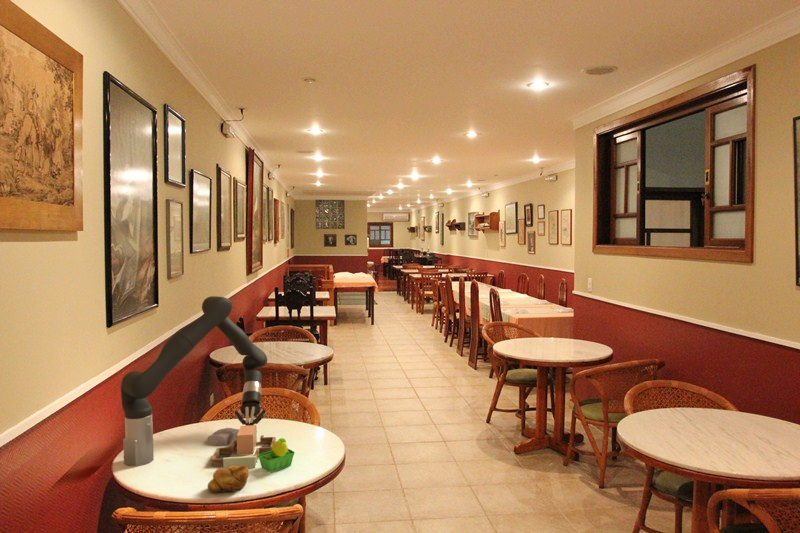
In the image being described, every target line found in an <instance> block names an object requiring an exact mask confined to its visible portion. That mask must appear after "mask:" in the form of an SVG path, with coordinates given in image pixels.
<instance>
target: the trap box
mask: <svg viewBox="0 0 800 533" xmlns="http://www.w3.org/2000/svg"><path fill="white" fill-rule="evenodd" d="M259 439H260V440H259V442H260V445H261V446H260V447H256V448H255V451H254V454H253V456H255V466H257V464H258V461H257V460H259V458H258V455H259V454H262V453H265V452H268V451H272V445H273V444H274V443H275V442H277V441H276V439H277V438H276V436H274V437H273V436H266V437H265V436H264V435H263V434H261V435H260V438H259ZM231 443H232V444H231V446H228V447H227V446H225V447H217V448H216V450H215V452H214V453H213V455H212V457H211V459H210V465H211V467H214V468H215V467H223V458H228V457H230V456H231V455H233V454H235V451H236V450H237V437H235V439H234V440H233V441H232V442H231ZM256 463H257V464H256Z"/></svg>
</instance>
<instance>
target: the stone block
mask: <svg viewBox="0 0 800 533" xmlns="http://www.w3.org/2000/svg"><path fill="white" fill-rule="evenodd" d="M239 429H240V428H232V427H225V428H220V429H218V430H217V431H214V432H213V433H212V434H211V435H209V436H207V438H206V439H207V440H206V441H207V444H208V445H213V446H228V445H229V444H231V443H233V441H234V439H235V437H237V434H238V432H239Z"/></svg>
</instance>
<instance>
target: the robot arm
mask: <svg viewBox="0 0 800 533" xmlns="http://www.w3.org/2000/svg"><path fill="white" fill-rule="evenodd" d="M201 310H202V313H203V314H202V315H201V316H200V317H199V318H197V319H196V320H194V321H192V322H190V323H188V324H187V325H185V326H183V327H182V328H180V329H178V330H177V331H176V332H175V333H174V334H173V335H172V336H170V337H169V338H168V339H167V340H166V342H165V343H164V344H163V346H162V348H161V350H160V352H159V354H158V357H157V358H156V359H155V361H154V362H153V363H152V364H151V365H150V366H149V367H148V368H146V369H145V370H143V371H139V370H138V371H137V370H132V371H129V372H127V373H126V374H125V375H124V376H123V378H122V380H121V383H120V396H121V406H122V410H123V414H124V427H125V428H124V432H125V436H124V438H123V439H122V440H123V442H122V445H123V447H122V448H123V464H124V465H126V464H127V466H132V467H138V466H143V465H146V464H150V463H151V462H152V461H154V428H153V427H154V426H153V407H152V405H151V404H150V402H149V401H148V397H149V396H150V395H152V394H153V392H154V391H156V390H157V388H158V386H160V384H161V383H162V382H163V381H164V380H165V378H166V377H167V376H168V375H169V373H171V372H172V371H173V370H174V368H176V366H178V364H179V363H181V362H182V361H183V359H184V358H186V357H187V355H189V354H190V353H191V352H192V351H193V350H194V348H195V347H196V346H197V345H198V344H199V343H200V342H202V340H203V339H205V337H206V336H207V335H208V334H209V333H211V331H213V330H214V329H215V328H216V327H217V328H218V329H219V330H220V331H221V333H223V335H224V336H225V337H226V338H227V339H228V341H229V342H230V343H231V345H232V346H233V347H234V349H235V350H236V352H237V353H238V354H239V355H240V356H244V357H243V359H242V363H241V364H242V367H243V371H244V372H243V373H244V386H243V389H242V401H241V406H240V408H239V410H236V411H234V415H235V418H236V419H238V421H239V422H240V423H241V424H242V426H250V425H258V424H259V423H260V422H261V420H263V419H264V417H265V416H266V415H267V411H266V409H263V408H262V406H261V401H262V394H263V393H262V389H263V388H262V381H263V380H262V379H263V374H262V373H261V371H259V370H258V369H261V368H263V367H266V365H267V364H268V357H267V355H266V353H265V352H264V351H263V350H262V349H261V348H260V347H258V346H257V345H256V344H254V343H253V342H252V341H251V339H250V338H249V336H248V335H247V333H246V332H245V330H243V329H242V328H240V327H239V326H238V325H237V324H236V323H235V322H234V321H232V320H231V319H230V317H229V316H230V315H231V312H232V311H233V303H232V300H231V299H229V298H227V297H224V296H215V295H212V296H208V297H205V299H204V300H203V301H202V304H201ZM242 415H243V416H244V417H243V416H242ZM244 418H245V419H244Z"/></svg>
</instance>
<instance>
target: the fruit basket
mask: <svg viewBox="0 0 800 533" xmlns="http://www.w3.org/2000/svg"><path fill="white" fill-rule="evenodd" d="M294 456H295V451H294V450H292V449H290V448H288V444H287V440H286V438H283V437H281V438H279V439H277V441H276V442H275V443H274V444H273V445H272V451H268V452H265V453H262V454H259V455H258V460H259V464H260V466H261V469H262V470H264V471H266V472H268V473H269V472H270V473H273V472H277V471H278V470H283V469H285V468H287V467H291V466H292V464H293V457H294Z"/></svg>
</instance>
